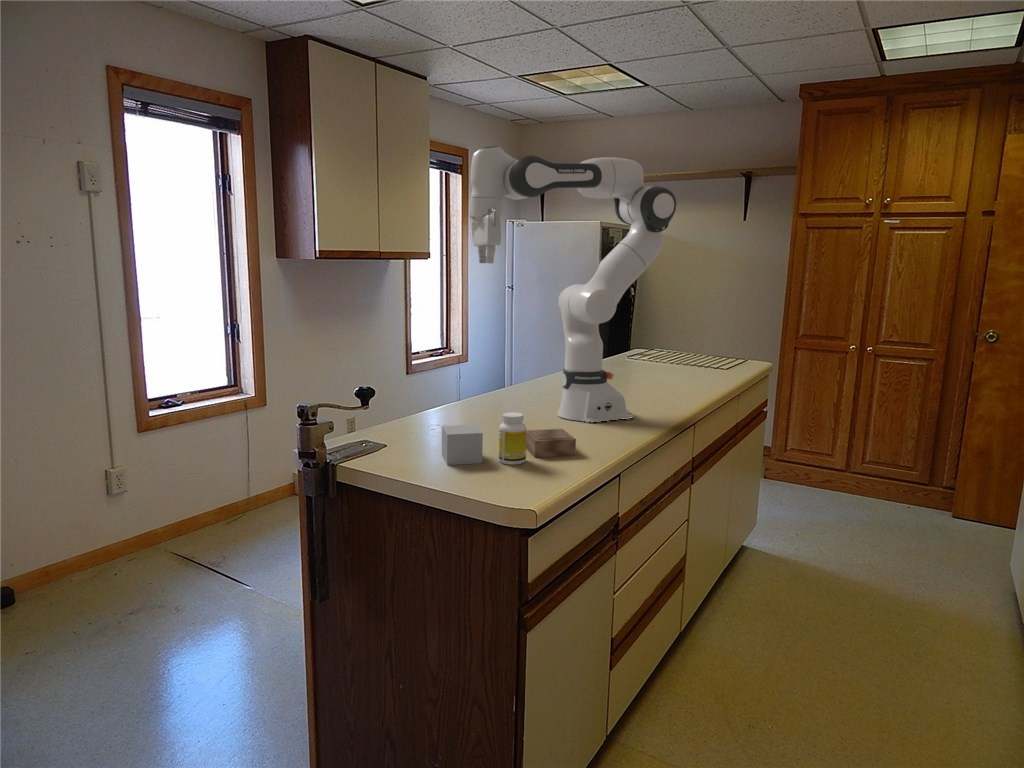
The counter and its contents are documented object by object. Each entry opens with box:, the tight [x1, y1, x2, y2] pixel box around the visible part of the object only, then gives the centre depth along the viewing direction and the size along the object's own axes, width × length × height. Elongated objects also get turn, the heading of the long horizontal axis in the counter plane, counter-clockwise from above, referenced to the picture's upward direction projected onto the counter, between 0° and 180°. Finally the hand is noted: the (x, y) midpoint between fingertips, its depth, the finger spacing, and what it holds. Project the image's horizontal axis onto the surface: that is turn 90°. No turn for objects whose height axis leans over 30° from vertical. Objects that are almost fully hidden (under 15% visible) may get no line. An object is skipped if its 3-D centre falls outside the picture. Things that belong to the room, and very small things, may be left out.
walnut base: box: [526, 428, 577, 458], centre depth 160 cm, size 10×10×4 cm
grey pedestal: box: [441, 424, 484, 466], centre depth 151 cm, size 8×8×7 cm
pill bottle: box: [498, 411, 527, 466], centre depth 150 cm, size 6×6×11 cm
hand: (486, 263), depth 178 cm, fingers open, 8 cm apart
